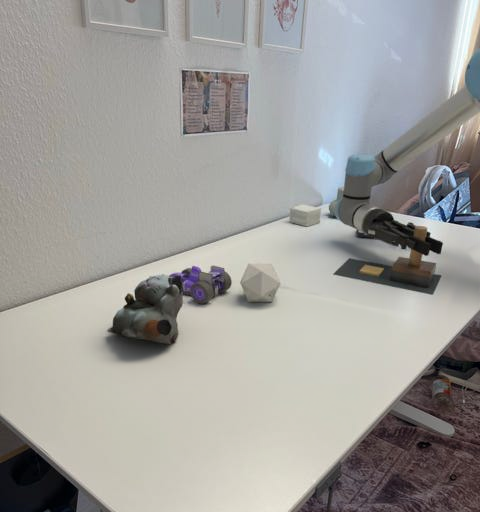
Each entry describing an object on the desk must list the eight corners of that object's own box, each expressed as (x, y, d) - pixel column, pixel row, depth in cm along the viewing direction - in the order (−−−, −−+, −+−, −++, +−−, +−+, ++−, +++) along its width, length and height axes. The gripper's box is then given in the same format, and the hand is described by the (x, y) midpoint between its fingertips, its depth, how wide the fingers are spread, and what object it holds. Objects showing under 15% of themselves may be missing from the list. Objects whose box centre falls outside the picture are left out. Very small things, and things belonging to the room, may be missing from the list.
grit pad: (383, 270, 123) (384, 268, 122) (379, 276, 119) (379, 274, 118) (364, 266, 125) (364, 264, 125) (359, 272, 121) (359, 270, 121)
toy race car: (181, 277, 118) (180, 252, 115) (231, 292, 111) (232, 265, 108) (155, 290, 111) (153, 264, 108) (207, 306, 104) (207, 278, 101)
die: (266, 314, 102) (292, 274, 102) (231, 292, 102) (256, 252, 101) (263, 310, 111) (286, 274, 110) (230, 290, 110) (253, 253, 109)
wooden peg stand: (433, 278, 118) (443, 226, 112) (428, 287, 113) (438, 233, 107) (396, 271, 122) (404, 221, 116) (389, 280, 117) (398, 228, 111)
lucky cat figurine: (100, 329, 93) (118, 260, 93) (158, 340, 99) (174, 275, 99) (120, 342, 80) (140, 262, 80) (185, 355, 86) (204, 280, 86)
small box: (320, 222, 165) (321, 207, 163) (306, 227, 160) (308, 211, 158) (302, 218, 170) (303, 203, 167) (288, 222, 165) (289, 207, 162)
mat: (440, 279, 121) (441, 275, 121) (432, 298, 110) (432, 294, 110) (348, 261, 131) (349, 258, 131) (332, 277, 120) (332, 274, 120)
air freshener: (357, 214, 176) (361, 187, 171) (358, 220, 169) (362, 191, 164) (327, 212, 178) (330, 185, 173) (327, 218, 170) (330, 190, 166)
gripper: (396, 233, 133) (458, 261, 113) (347, 238, 127) (402, 268, 108) (401, 206, 129) (465, 230, 110) (350, 210, 124) (408, 236, 105)
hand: (434, 249), depth 109 cm, fingers closed on wooden peg stand, 3 cm apart
